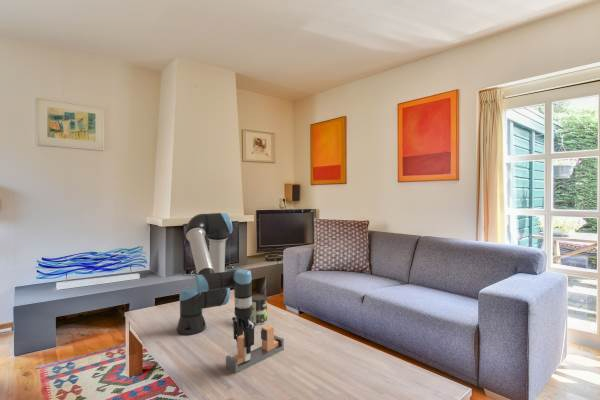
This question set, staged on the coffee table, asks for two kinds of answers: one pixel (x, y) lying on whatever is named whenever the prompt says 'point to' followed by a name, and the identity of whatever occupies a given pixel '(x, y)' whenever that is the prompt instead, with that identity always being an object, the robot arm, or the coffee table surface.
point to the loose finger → (240, 349)
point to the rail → (254, 357)
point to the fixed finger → (268, 338)
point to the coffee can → (259, 309)
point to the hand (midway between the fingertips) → (243, 358)
